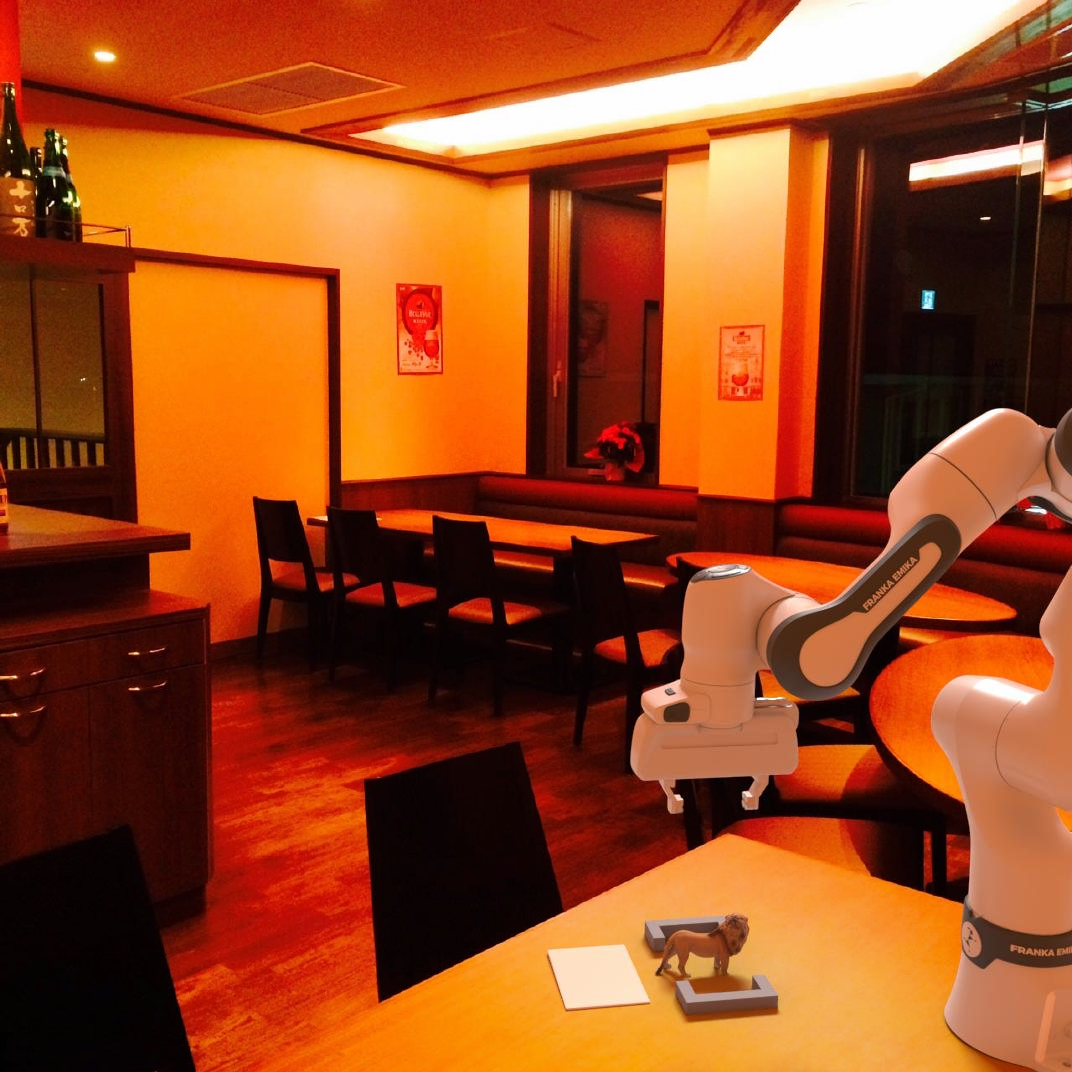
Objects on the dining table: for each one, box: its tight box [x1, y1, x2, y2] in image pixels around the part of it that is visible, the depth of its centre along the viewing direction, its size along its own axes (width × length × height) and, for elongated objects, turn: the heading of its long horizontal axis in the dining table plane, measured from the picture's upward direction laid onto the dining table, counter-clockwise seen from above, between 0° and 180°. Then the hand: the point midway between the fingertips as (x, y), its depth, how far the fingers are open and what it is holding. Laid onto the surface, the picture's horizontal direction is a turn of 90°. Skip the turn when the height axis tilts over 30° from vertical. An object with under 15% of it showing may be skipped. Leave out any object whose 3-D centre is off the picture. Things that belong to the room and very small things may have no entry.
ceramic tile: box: [547, 944, 651, 1011], centre depth 131 cm, size 10×13×1 cm
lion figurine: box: [654, 911, 750, 979], centre depth 132 cm, size 12×4×7 cm, turn 101°
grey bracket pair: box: [644, 915, 779, 1016], centre depth 133 cm, size 11×19×2 cm, turn 9°
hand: (712, 809), depth 130 cm, fingers open, 8 cm apart
